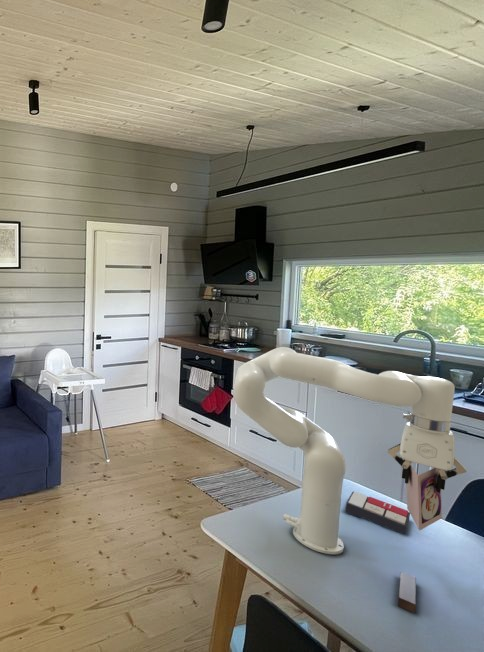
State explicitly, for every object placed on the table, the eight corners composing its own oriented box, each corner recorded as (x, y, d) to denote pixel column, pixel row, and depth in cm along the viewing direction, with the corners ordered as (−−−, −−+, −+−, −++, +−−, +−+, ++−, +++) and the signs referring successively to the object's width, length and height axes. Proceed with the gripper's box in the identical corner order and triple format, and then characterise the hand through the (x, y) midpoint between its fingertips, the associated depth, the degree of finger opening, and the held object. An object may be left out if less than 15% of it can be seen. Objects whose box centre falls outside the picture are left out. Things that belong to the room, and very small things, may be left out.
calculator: (406, 524, 125) (346, 500, 136) (404, 536, 126) (344, 512, 137) (410, 510, 132) (353, 488, 143) (408, 522, 133) (351, 499, 144)
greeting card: (423, 532, 105) (422, 477, 104) (389, 517, 112) (387, 465, 111) (446, 519, 109) (444, 466, 109) (411, 506, 116) (409, 456, 115)
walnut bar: (397, 606, 99) (398, 597, 99) (399, 579, 108) (400, 571, 107) (414, 613, 97) (415, 604, 97) (415, 585, 106) (416, 577, 105)
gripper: (386, 417, 111) (379, 479, 113) (479, 437, 99) (470, 505, 101) (387, 410, 116) (380, 469, 118) (476, 428, 104) (467, 493, 106)
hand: (422, 485), depth 109 cm, fingers closed on greeting card, 5 cm apart
